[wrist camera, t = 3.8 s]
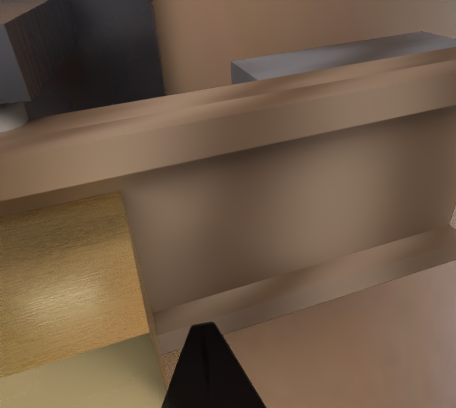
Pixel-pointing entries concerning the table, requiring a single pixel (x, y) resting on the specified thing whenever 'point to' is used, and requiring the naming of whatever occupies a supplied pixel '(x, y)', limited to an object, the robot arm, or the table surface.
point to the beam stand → (78, 54)
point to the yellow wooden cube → (76, 310)
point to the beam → (263, 178)
